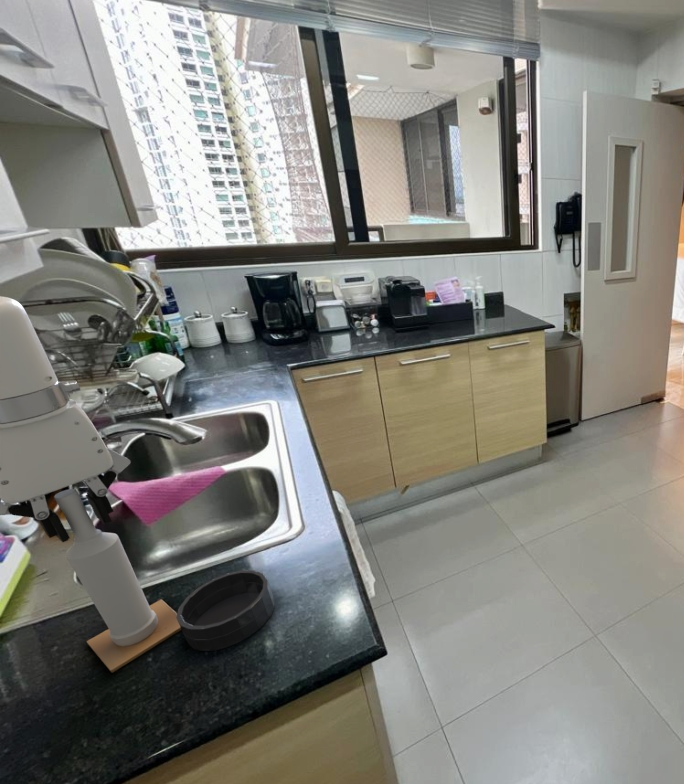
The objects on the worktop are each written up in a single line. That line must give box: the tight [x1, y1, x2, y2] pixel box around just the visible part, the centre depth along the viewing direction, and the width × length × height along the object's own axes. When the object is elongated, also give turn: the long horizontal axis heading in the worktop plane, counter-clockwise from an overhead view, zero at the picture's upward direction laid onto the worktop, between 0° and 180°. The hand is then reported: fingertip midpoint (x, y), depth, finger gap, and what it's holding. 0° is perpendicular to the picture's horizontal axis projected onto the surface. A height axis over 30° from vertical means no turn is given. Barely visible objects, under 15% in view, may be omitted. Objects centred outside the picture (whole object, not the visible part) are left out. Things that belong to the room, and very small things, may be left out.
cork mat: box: [86, 599, 182, 673], centre depth 70 cm, size 9×9×1 cm
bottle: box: [53, 488, 158, 646], centre depth 65 cm, size 5×5×25 cm
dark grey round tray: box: [176, 569, 276, 652], centre depth 72 cm, size 11×11×4 cm
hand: (83, 527), depth 62 cm, fingers open, 3 cm apart
